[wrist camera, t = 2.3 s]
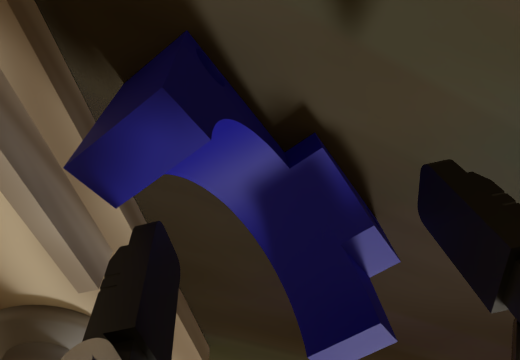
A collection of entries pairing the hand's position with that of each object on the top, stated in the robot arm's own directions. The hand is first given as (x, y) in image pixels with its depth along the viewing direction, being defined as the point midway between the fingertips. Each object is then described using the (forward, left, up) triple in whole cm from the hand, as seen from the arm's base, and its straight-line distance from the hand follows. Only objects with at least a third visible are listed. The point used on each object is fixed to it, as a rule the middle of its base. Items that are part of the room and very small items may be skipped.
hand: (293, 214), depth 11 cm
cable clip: (0, +1, -5) cm, 5 cm away
